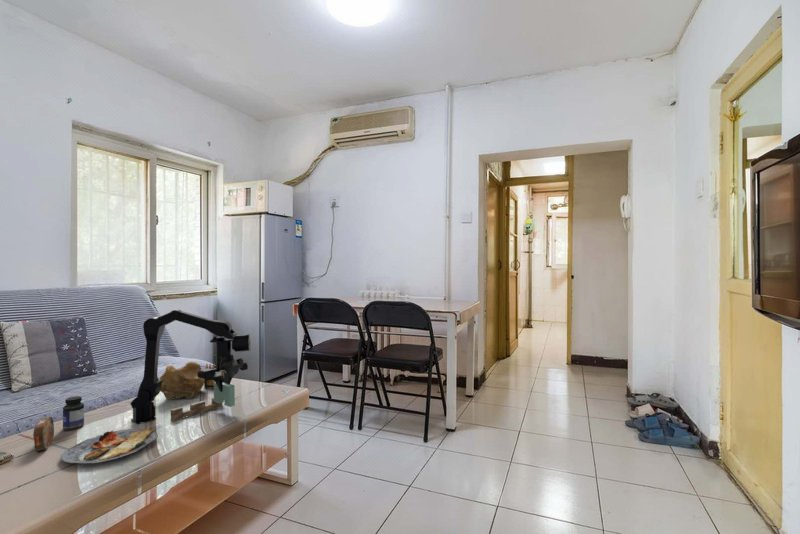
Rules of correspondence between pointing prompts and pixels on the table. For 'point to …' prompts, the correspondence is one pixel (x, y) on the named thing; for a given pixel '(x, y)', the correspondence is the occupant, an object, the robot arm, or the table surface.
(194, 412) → the notched base plate
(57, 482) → the table surface
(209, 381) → the ammunition clip
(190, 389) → the rough brown rock
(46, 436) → the brown patterned slab
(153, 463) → the table surface
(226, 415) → the table surface
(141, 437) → the food plate
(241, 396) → the table surface
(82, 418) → the pill bottle
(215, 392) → the notched crosspiece
